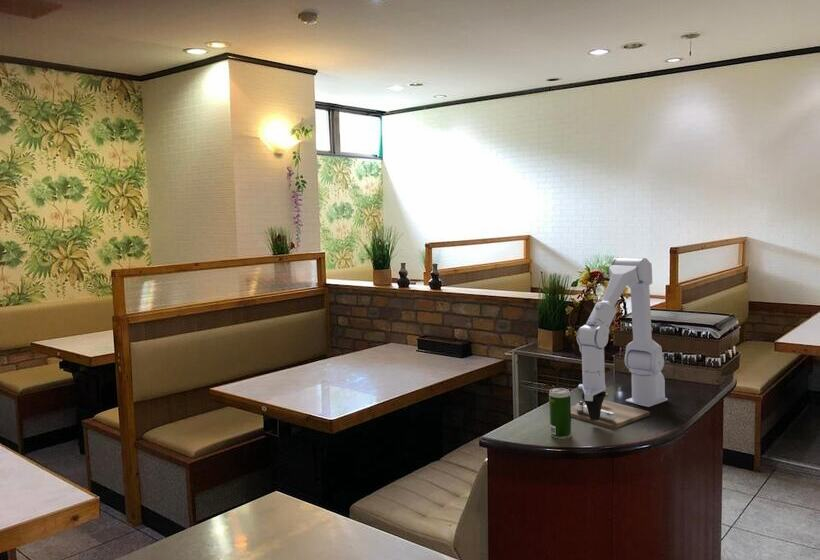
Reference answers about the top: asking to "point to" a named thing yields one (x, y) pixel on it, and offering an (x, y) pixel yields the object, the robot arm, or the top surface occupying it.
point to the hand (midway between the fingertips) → (594, 419)
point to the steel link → (604, 414)
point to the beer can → (560, 413)
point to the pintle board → (621, 412)
